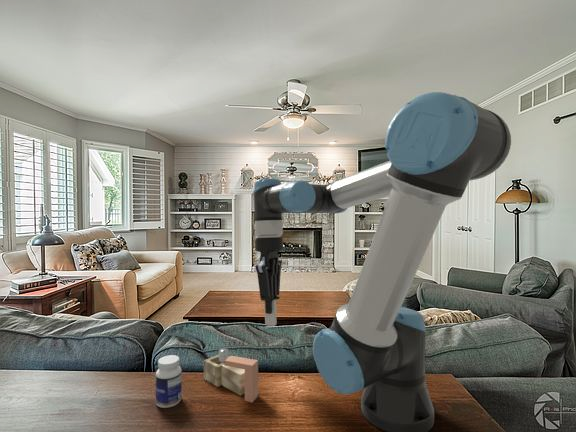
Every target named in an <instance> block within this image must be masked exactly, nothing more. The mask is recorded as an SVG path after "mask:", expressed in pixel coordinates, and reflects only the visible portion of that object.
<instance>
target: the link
mask: <svg viewBox="0 0 576 432" xmlns="http://www.w3.org/2000/svg"><path fill="white" fill-rule="evenodd" d="M228 357H230V356H229V355H228ZM204 379H205V381H206V380H207V381H206V382H207V383H209V384H211V383H212V384H211V385H214V386H215V387H217V388H218V387H220V386H222V385H223V387H224V388H226V389H227V390H229V391H232V392H233V393H235V394H237V395H238V396H242V395H245V369H240V368H235V367H229V366H224V363H221V364H219V354H217V355H215V356H211V357H209V358H206V359H204V360H203V380H204Z"/></svg>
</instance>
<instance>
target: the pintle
mask: <svg viewBox="0 0 576 432" xmlns="http://www.w3.org/2000/svg"><path fill="white" fill-rule="evenodd" d="M218 355H219V364H221V363H224V361H225V360H226V359H227V358H228V356H229V349H228V348H226V347H225V348H224V347H223V348H220V349H218Z"/></svg>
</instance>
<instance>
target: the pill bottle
mask: <svg viewBox="0 0 576 432" xmlns="http://www.w3.org/2000/svg"><path fill="white" fill-rule="evenodd" d="M157 367H158V369H157V370H156V372H155V404H156V406H157V407H159V408H162V409H168V408H173V407H174V406H177V405H178V404H179V403H180V402H181V401H182V392H183V391H182V384H183V383H182V382H183V381H182V376H183V375H182V373H183V371H182V367H181V365H180V357H179V356H178V355H175V354H173V355H172V354H170V355H168V354H167V355H165V356H162V357H160V358H159V359H158V360H157Z"/></svg>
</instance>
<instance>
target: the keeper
mask: <svg viewBox="0 0 576 432" xmlns="http://www.w3.org/2000/svg"><path fill="white" fill-rule="evenodd" d="M224 366H229V367H235V368H240V369H245V394H244V402H248V403H252V404H253V402H255V400H256V399H257V398H258V397H259V360H258V359H255V358H254V359H252V358H246V357H243V356H242V357H240V356H237V355H236V356H235V355H230V356H229V357H228V358H227V359H226V360H225V361H224Z"/></svg>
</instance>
